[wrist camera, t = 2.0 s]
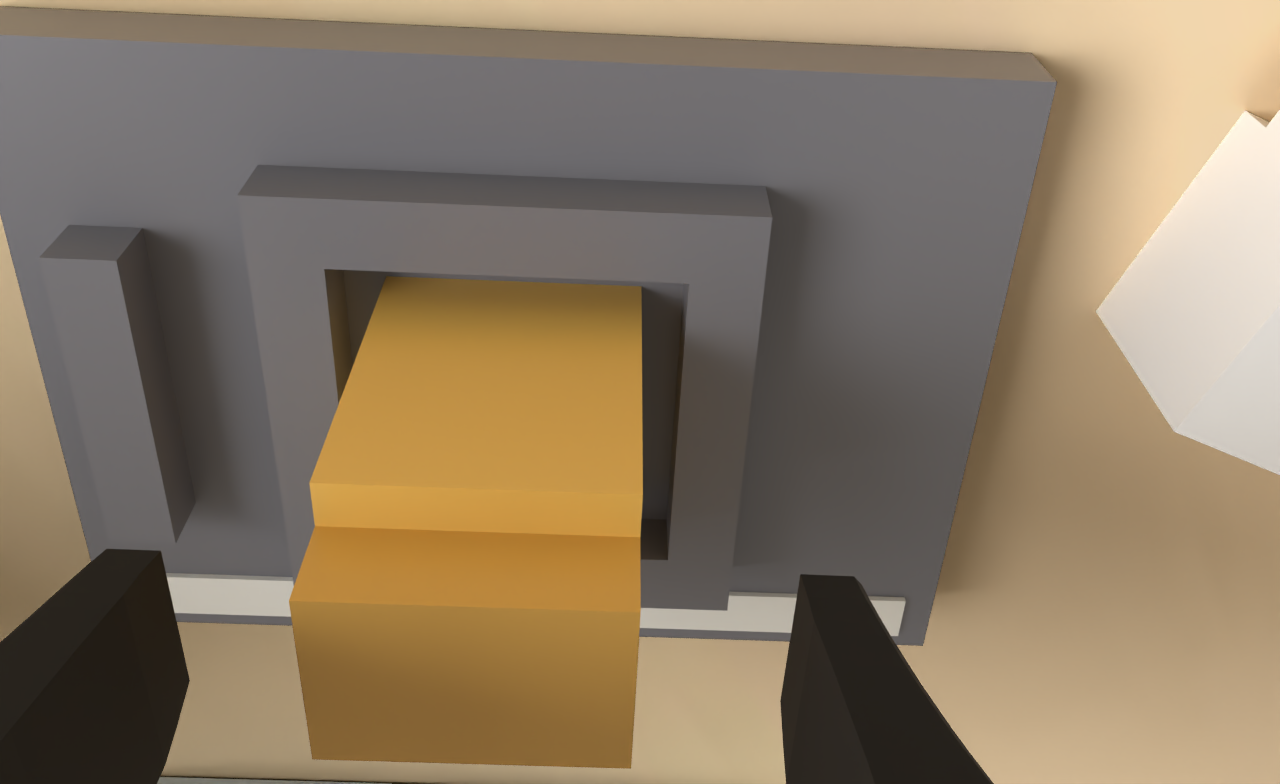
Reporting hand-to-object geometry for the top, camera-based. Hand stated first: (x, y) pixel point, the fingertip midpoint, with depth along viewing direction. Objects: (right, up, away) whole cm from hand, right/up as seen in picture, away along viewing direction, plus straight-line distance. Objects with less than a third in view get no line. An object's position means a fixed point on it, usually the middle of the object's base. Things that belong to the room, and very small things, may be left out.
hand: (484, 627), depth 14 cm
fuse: (0, +3, +4) cm, 5 cm away
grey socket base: (0, +3, +5) cm, 6 cm away
